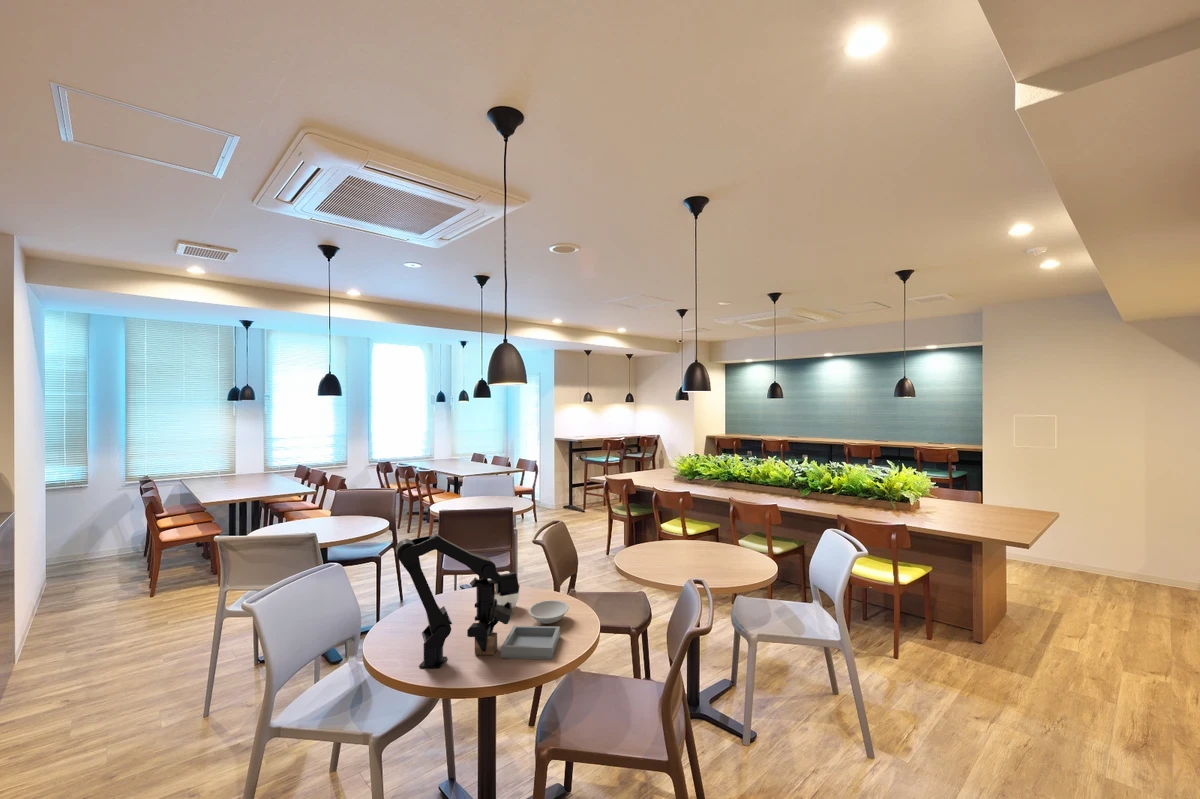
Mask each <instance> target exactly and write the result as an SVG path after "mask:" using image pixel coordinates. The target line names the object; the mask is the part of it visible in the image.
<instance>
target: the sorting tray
mask: <svg viewBox="0 0 1200 799" xmlns="http://www.w3.org/2000/svg"><path fill="white" fill-rule="evenodd" d="M559 638H560V639H561V626H554V625H553V626H549V625H548V626H544V625H543V626H542V625H541V626H539V625H538V626H537V625H532V626H531V625H513V626H512V628H511V629H510V631H509V633H508V635H507V636H506V638H505V640H504V641H503V643H502V645H501V646H500V650H501V651H500V656H501V658H500V659H505V658H510V659H511V660H515V659H518V660H553V658H554V656H555V653H556V650H557V648H556V647H558V645H557V644H559V641H560V639H559ZM513 658H514V659H513Z"/></svg>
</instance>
